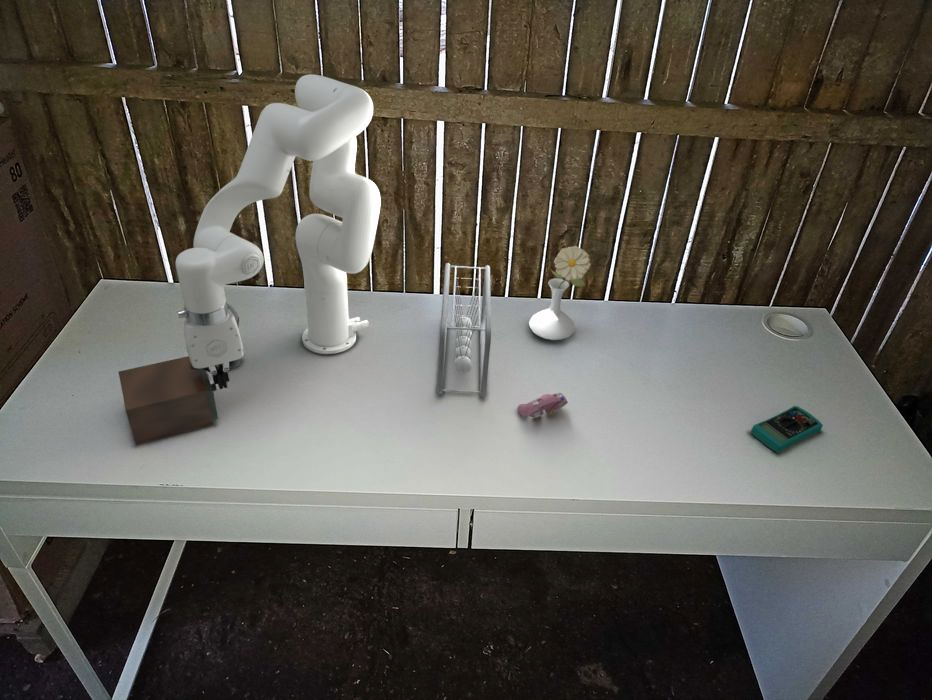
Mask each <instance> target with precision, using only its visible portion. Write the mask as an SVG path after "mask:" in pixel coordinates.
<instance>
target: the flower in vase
mask: <svg viewBox="0 0 932 700" xmlns="http://www.w3.org/2000/svg"><path fill="white" fill-rule="evenodd" d="M589 257H590V255H589V253H587V251H585V250H584V249H583V248H580V247H579V246H577V245H574V246H568V247H565V248H561V249H560V251H559V252H558V253H557V255H556V257H555V258H554V260H553V263H554V268H556V269H555V271H553V270H552V269H550V272H551V273H552V274H553V275H554V276H555V277H556V278H550V279H549V280H548V283H547V284H548V286H549V288H550V291H551V301H550V305H549V307H548V308H546V309H543V310H540V311H538V312H537V313H534V314H533V315H532V316H531V318H530V319H529V322H528V326H529V328H530V329H531V331H532V332H533V333H534V334H535V335H536V336H538V337H540V338H542V339H545V340H550V341H559V340H561V341H562V340H565V339H568V338H569V337H571V336H572V335H573V334H574V333H575V331H576V326H575V323H574V321H573V319H572V318H571V317H570V316H569V315H568V314H567V313H566V312H564V311H562V310H561V301H562V298H563V294H564V293H565V291H566V290H567V289H568V288H569V287H570V283H571V284H572V285H573V286H574V287H585V286H586V283H585V281H584V280H583V277H585V274H586V273H587V272H588V270H589V269H590V267H591V263H590V261H591V260H590V258H589ZM568 281H570V283H569V282H568Z"/></svg>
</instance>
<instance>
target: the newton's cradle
mask: <svg viewBox="0 0 932 700" xmlns="http://www.w3.org/2000/svg"><path fill="white" fill-rule="evenodd" d="M451 268H454V274H453V275H454V277H453V294H452V310H451V324H448V317H449V298H450V297H449V296H450V280H451V279H450V277H451V275H450V274H451ZM457 269H473V270H474V269H475V270H478V278H477V279H476V283H475V287H473V286H469V287H468V286H467V288H468V289H469V288H470V289H473V293H472V295H465V297H468V298H471V300H470V303H469V305H468V309H467V313H466V314H464V313H463V307H467V305H465V304H463V305H462V301H461V294H460V286H459V282H458V277H457ZM481 270H484V273H483V274H484V275H483V284H481V283H482V282H481V281H482V279H481V277H482V274H481ZM462 279H466V280H471V278H468V277H462ZM456 285H457V286H456ZM481 285H483V286H482V287H481ZM477 286H478V287H477ZM481 288H482V297H481ZM475 291H476V292H475ZM477 294H478V296H477ZM491 299H492V297H491V266H490V265H488V264H487V265H485V267H483V266H481V267H480V266H465V265H451V264H450V263H449V262H446V263H445V265H444V278H443V289H442V304H441V313H440V314H441V315H440V325H439V327H440V328H439V344H438V364H437V365H438V367H437V391H436V392H437V395H442V394H443V393H444V392H449V393H450V392H451V393H467V394H469V393H470V394H479V395H480V398H481V397H482V398H484V397H485V396H486V393H487V386H488V385H487V383H488V376H489V375H488V373H489V364H490V363H489V362H490V353H491V343H492V342H491V341H492V308H491V307H492V305H491V303H492V302H491V301H492V300H491ZM477 302H478V305H477ZM471 304H472V305H471ZM470 307H471V308H470ZM472 310H473V311H472ZM469 311H470V312H469ZM477 311H478V315H477ZM474 312H475V313H474ZM471 313H472V314H471ZM468 314H469V315H468ZM472 318H473V319H472ZM475 318H476V319H475ZM474 321H475V322H474ZM477 321H478V325H477ZM454 323H455V324H454ZM473 324H474V325H473ZM448 330H456V331H455V337H456V340H455V343H454V345H455V347H456V349H455V351H454V357H455V360H454V364H453V365H454V368H455V370H456V371H457V372H459V373H462V374H463V373H467V372H469V371H470V370H471V367H472V361H471V357H472V350H471V348H472V344H473V343H472V337H473V334H474V331H477V332H478V331H479V391H477V390H464V389H463V390H461V389H446V388H445V389H444V379H445V378H444V376H445V364H446V361H445V360H446V349H447V335H448V332H447V331H448Z"/></svg>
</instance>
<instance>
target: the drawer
mask: <svg viewBox="0 0 932 700" xmlns="http://www.w3.org/2000/svg"><path fill="white" fill-rule="evenodd" d="M200 372H201V376H202V379H203V382H204V385H205V388H206V391H207V396H208V401H209V406H210V411H211V415H212V420H213V421H214V420H218V419H219V414H218V409H217V404H216V400H215V395H214V392H216V391H218V388H217V384H216V385H215V384H214V382H213V383H211V381H210V377H209V375H208V371H206V370H203V369H200Z"/></svg>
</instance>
